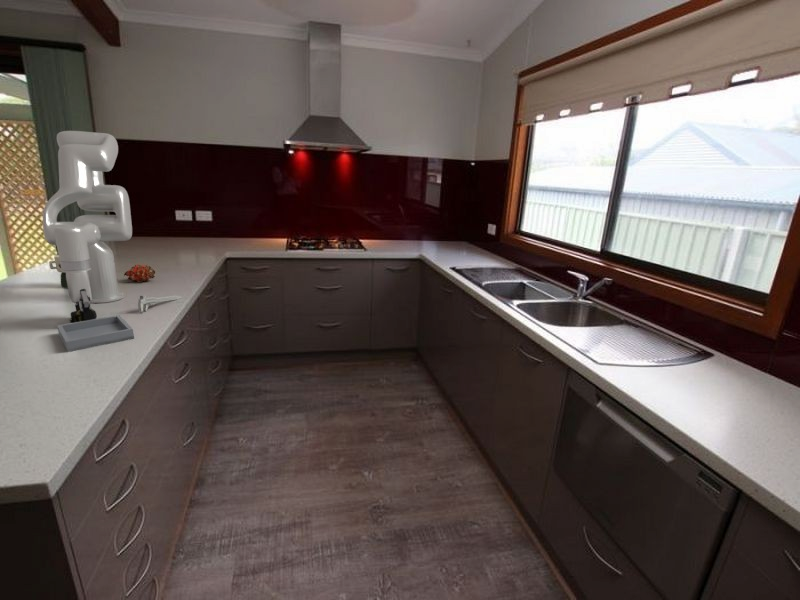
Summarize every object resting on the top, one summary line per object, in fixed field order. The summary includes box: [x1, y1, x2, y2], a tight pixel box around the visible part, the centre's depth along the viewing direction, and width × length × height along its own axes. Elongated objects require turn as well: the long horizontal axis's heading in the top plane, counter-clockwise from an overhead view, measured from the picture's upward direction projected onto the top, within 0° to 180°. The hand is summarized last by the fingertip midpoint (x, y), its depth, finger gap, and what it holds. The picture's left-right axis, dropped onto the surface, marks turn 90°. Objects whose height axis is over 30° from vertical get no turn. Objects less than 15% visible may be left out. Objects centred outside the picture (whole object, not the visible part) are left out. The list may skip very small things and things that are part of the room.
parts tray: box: [56, 314, 135, 353], centre depth 126 cm, size 16×16×3 cm
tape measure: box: [69, 308, 98, 323], centre depth 136 cm, size 7×7×4 cm
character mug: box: [48, 254, 68, 288], centre depth 170 cm, size 11×7×13 cm, turn 129°
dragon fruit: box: [123, 263, 156, 284], centre depth 184 cm, size 8×8×12 cm
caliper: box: [137, 294, 183, 314], centre depth 156 cm, size 21×1×6 cm, turn 169°
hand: (85, 318), depth 136 cm, fingers closed on tape measure, 7 cm apart
